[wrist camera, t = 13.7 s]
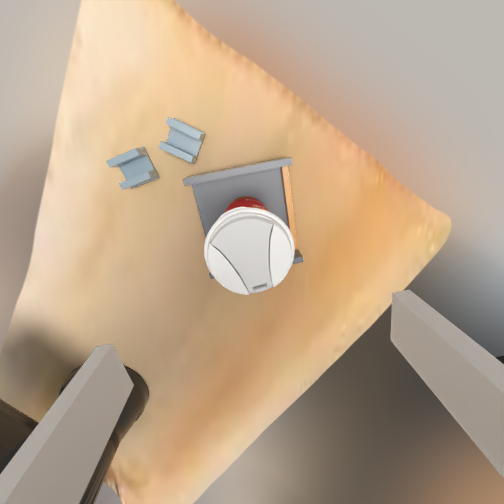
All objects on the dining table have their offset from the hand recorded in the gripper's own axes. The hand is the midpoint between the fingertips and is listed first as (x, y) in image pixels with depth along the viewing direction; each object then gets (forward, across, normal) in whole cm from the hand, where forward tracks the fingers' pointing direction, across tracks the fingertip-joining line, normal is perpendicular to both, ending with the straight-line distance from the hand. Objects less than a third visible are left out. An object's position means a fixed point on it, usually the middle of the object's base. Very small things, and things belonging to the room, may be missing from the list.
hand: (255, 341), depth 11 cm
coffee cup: (+25, 0, 0) cm, 25 cm away
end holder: (+26, 0, 0) cm, 26 cm away
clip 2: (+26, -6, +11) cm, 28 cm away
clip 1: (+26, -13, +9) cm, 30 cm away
